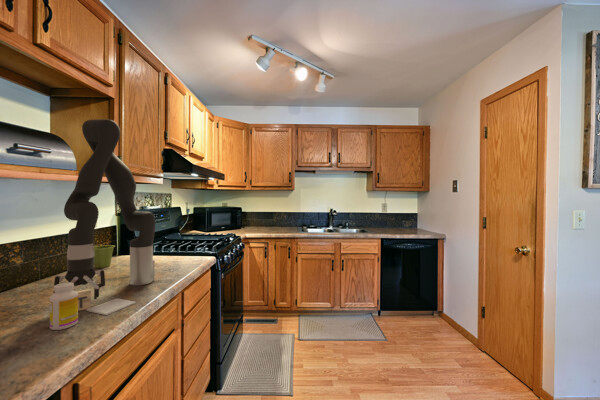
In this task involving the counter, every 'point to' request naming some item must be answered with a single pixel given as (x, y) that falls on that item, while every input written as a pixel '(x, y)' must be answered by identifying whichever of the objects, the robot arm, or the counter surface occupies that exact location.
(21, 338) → the counter surface
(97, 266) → the plant pot
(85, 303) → the tan cube block
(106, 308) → the mat
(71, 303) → the supplement bottle
